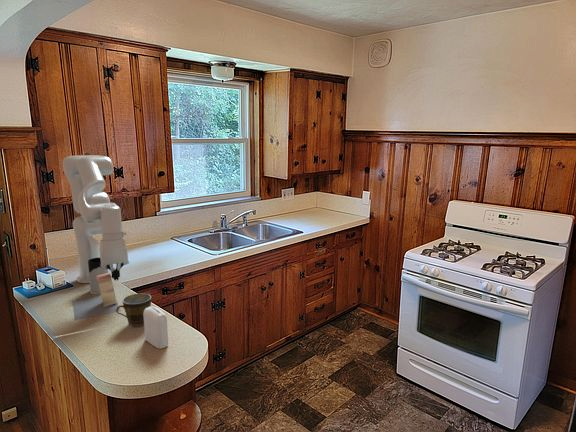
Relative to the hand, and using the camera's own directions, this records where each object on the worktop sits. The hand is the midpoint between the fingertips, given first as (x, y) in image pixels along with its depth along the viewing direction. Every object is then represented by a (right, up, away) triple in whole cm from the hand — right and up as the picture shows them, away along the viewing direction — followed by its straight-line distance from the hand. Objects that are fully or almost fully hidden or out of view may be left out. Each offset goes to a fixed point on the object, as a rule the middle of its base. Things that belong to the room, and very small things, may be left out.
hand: (116, 279), depth 159 cm
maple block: (-3, -10, 0) cm, 10 cm away
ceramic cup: (+15, -14, -17) cm, 26 cm away
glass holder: (-15, -8, +16) cm, 23 cm away
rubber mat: (-7, -11, -2) cm, 13 cm away
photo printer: (+27, -17, -29) cm, 43 cm away
